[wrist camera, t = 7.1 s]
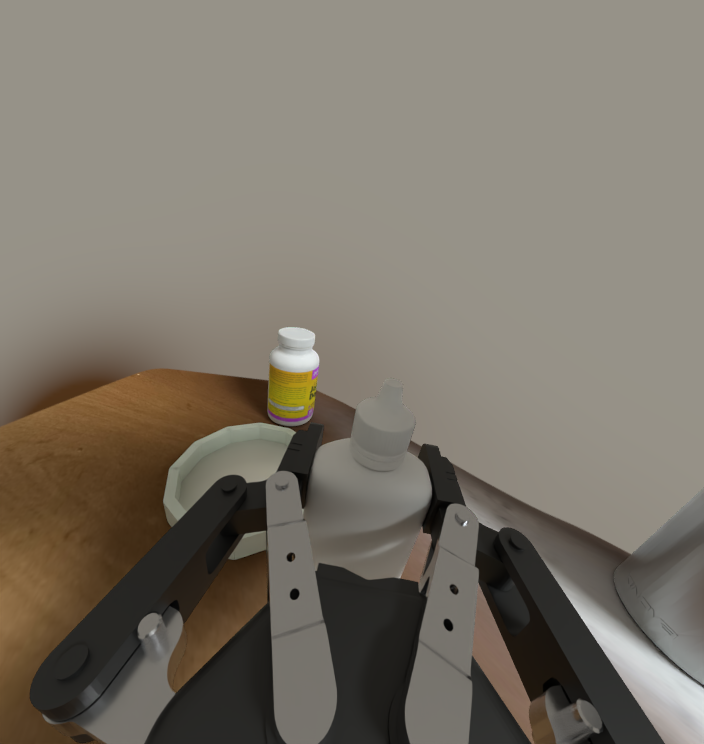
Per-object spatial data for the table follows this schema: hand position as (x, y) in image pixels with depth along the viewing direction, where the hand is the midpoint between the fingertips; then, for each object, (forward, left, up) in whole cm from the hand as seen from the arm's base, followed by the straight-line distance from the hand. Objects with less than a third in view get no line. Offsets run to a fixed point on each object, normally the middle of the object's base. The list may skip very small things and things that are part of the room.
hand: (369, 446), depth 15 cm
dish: (+10, -7, -14) cm, 19 cm away
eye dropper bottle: (0, +3, -7) cm, 7 cm away
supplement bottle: (+10, -20, -15) cm, 27 cm away
